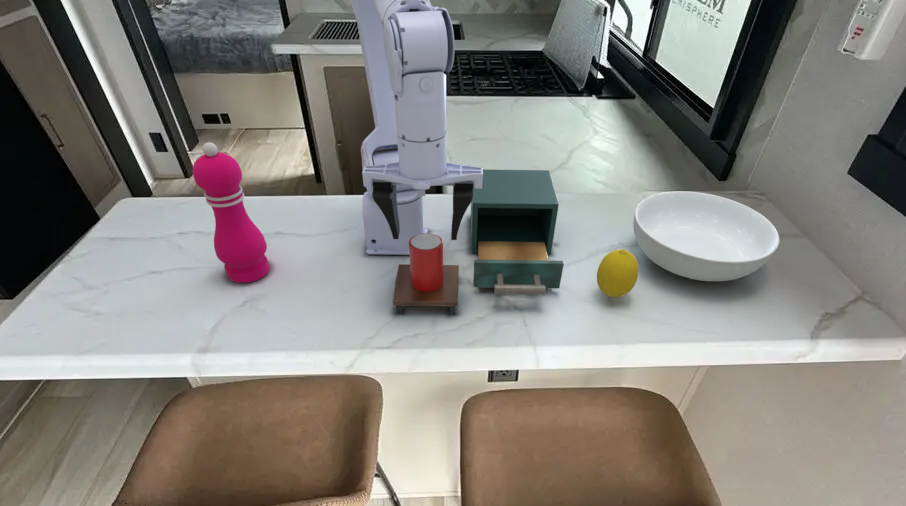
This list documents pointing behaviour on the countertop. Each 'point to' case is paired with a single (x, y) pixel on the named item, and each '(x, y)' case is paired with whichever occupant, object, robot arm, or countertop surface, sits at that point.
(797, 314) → the countertop surface
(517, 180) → the teal open box
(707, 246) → the serving bowl
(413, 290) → the brown square board
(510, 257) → the handled drawer
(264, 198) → the countertop surface
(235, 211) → the pepper mill
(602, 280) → the lemon
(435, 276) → the can
